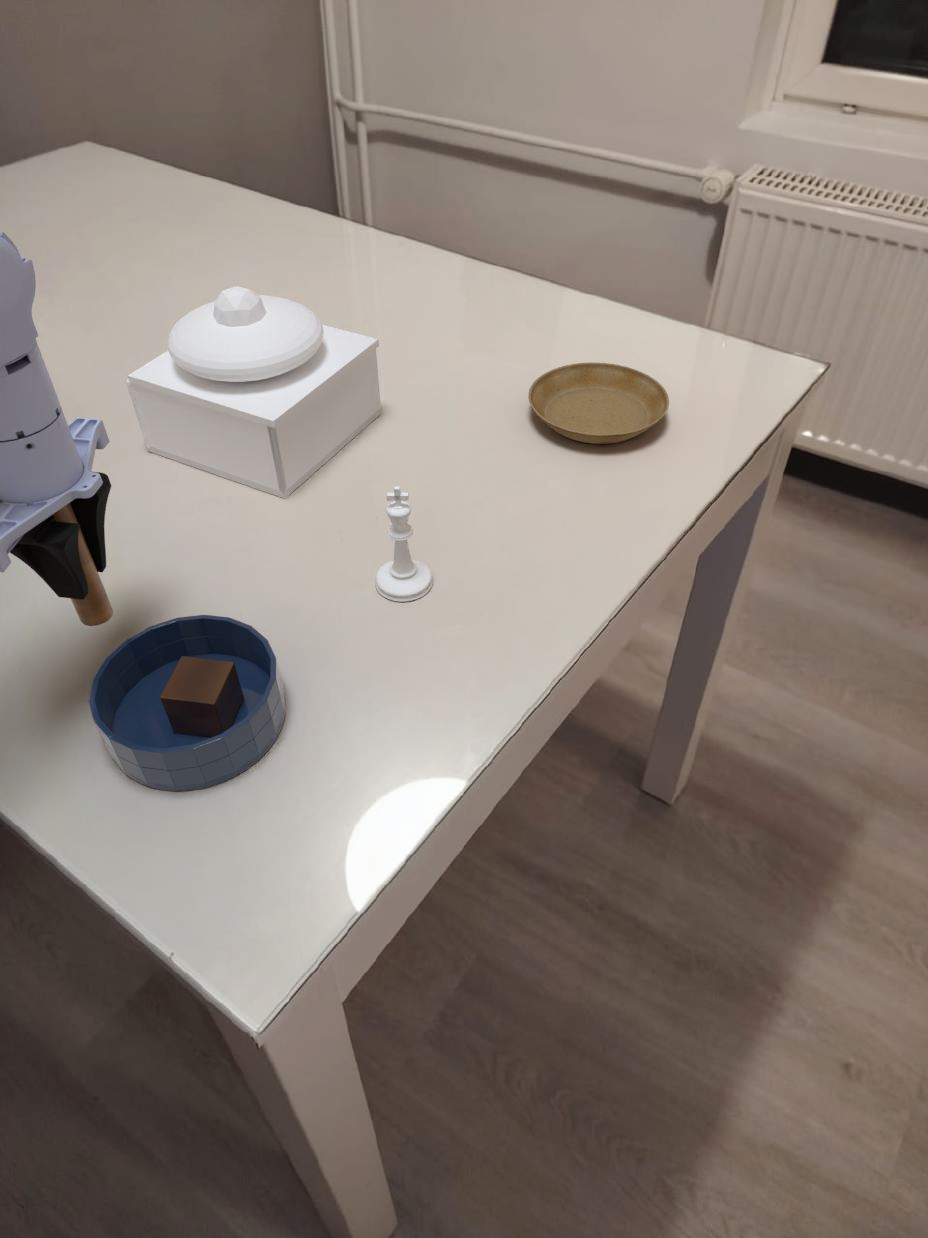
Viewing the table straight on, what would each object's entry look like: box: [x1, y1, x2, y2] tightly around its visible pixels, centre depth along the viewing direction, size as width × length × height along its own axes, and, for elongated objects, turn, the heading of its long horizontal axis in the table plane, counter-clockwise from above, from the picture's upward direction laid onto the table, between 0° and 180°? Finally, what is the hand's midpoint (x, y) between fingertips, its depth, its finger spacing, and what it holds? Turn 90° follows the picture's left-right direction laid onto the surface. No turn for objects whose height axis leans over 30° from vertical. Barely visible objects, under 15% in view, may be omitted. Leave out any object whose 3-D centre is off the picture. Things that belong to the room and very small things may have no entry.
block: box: [160, 656, 244, 738], centre depth 62 cm, size 4×4×4 cm
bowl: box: [88, 614, 286, 792], centre depth 63 cm, size 13×13×4 cm
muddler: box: [50, 503, 114, 627], centre depth 61 cm, size 2×2×11 cm
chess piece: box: [374, 485, 434, 603], centre depth 71 cm, size 5×5×10 cm
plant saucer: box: [527, 362, 670, 445], centre depth 92 cm, size 15×15×3 cm
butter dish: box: [125, 285, 382, 500], centre depth 86 cm, size 18×18×16 cm
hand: (82, 581), depth 63 cm, fingers closed on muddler, 2 cm apart
